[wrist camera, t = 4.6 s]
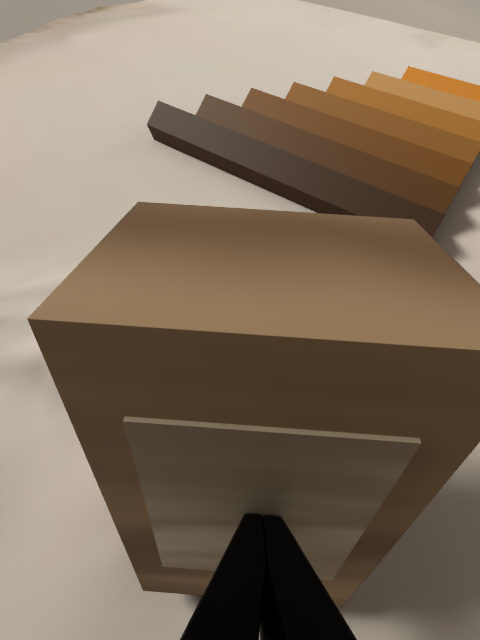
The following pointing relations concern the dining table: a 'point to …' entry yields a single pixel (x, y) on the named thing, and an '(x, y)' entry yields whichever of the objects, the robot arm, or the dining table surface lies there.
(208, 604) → the robot arm
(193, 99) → the dining table surface
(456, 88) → the pan flute
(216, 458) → the walnut block
